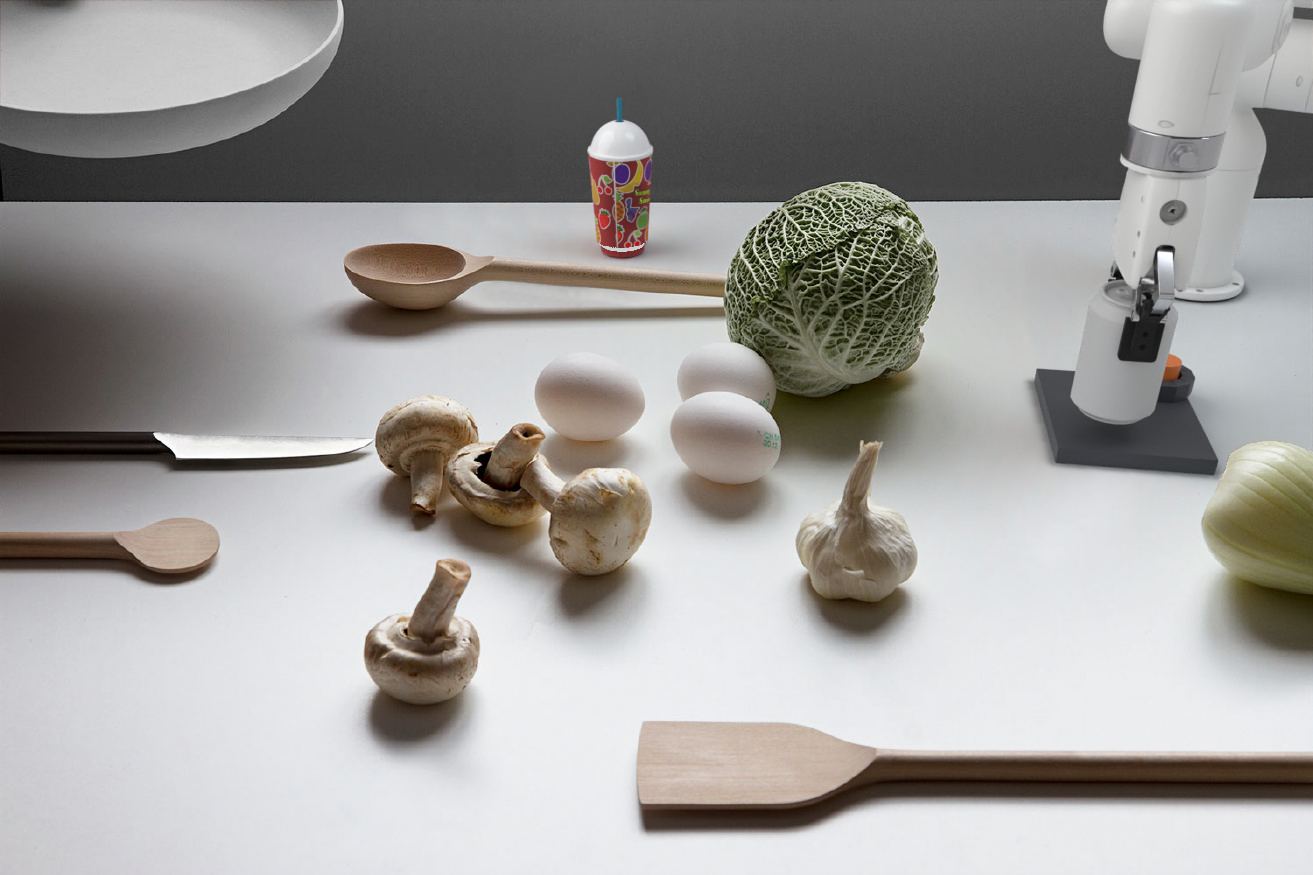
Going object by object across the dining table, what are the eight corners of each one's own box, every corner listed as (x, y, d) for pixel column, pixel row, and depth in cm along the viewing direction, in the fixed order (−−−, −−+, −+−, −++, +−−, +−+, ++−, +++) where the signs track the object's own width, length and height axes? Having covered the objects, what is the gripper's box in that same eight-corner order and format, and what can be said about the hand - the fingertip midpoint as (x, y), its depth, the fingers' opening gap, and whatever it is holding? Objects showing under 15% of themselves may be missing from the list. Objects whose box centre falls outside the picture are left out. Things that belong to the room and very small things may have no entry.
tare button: (1140, 366, 115) (1144, 351, 114) (1173, 368, 114) (1177, 353, 114) (1147, 381, 112) (1151, 365, 111) (1181, 383, 112) (1185, 367, 111)
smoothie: (653, 262, 147) (652, 107, 137) (589, 262, 147) (583, 108, 137) (654, 238, 154) (653, 90, 144) (593, 239, 154) (587, 90, 144)
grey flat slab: (1033, 380, 119) (1038, 350, 117) (1178, 390, 117) (1186, 359, 115) (1055, 463, 105) (1061, 431, 103) (1220, 476, 103) (1230, 443, 101)
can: (1159, 432, 103) (1190, 312, 96) (1073, 424, 104) (1098, 305, 98) (1146, 393, 109) (1174, 277, 103) (1064, 386, 110) (1088, 271, 104)
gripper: (1249, 183, 86) (1193, 388, 95) (1193, 120, 100) (1150, 302, 109) (1145, 179, 87) (1100, 382, 96) (1105, 117, 101) (1069, 298, 110)
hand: (1127, 338), depth 103 cm, fingers closed on can, 7 cm apart
